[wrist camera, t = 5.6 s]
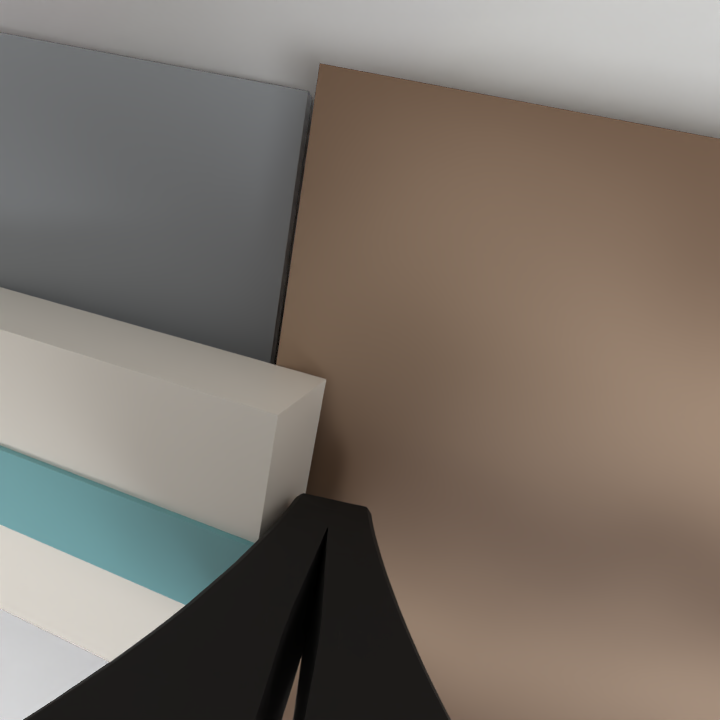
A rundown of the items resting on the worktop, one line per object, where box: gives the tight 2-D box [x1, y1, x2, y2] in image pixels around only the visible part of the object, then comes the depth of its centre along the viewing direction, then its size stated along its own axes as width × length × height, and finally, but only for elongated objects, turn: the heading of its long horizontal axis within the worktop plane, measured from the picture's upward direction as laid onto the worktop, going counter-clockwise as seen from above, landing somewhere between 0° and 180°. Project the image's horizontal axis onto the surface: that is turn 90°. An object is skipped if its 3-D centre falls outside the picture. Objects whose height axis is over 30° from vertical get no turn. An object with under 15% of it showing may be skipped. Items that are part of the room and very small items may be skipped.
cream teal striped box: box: [0, 287, 326, 662], centre depth 9 cm, size 9×6×2 cm, turn 79°
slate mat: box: [0, 32, 312, 364], centre depth 11 cm, size 14×8×1 cm, turn 169°
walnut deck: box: [276, 64, 720, 720], centre depth 10 cm, size 16×12×2 cm
